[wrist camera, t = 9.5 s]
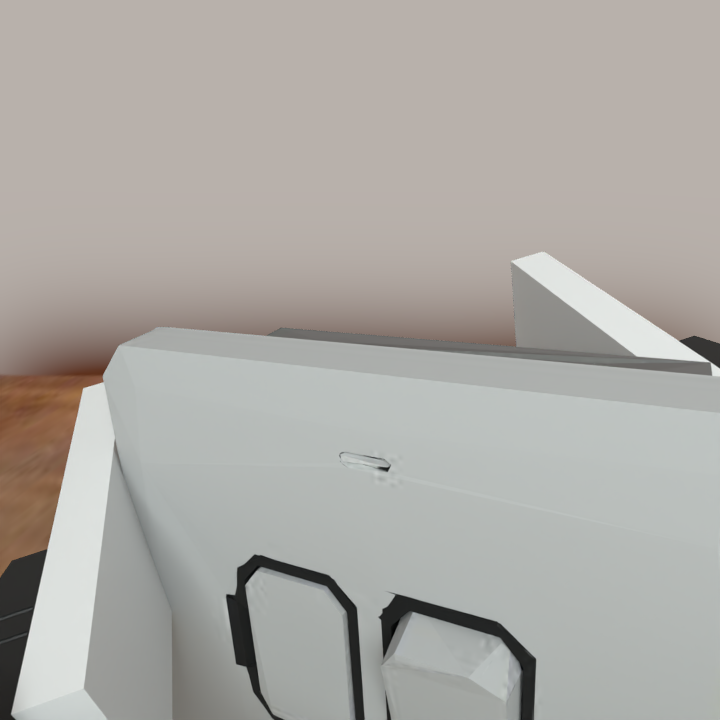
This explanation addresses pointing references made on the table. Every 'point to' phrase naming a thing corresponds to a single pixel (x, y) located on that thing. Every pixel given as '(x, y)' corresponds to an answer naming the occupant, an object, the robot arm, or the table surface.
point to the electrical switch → (425, 526)
